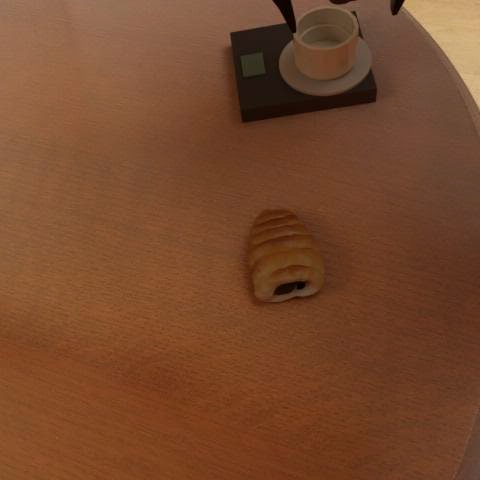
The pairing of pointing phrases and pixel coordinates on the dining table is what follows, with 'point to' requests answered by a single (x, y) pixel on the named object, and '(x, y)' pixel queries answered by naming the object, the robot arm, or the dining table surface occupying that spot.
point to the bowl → (326, 42)
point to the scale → (292, 76)
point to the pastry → (283, 257)
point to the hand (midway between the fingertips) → (343, 21)
